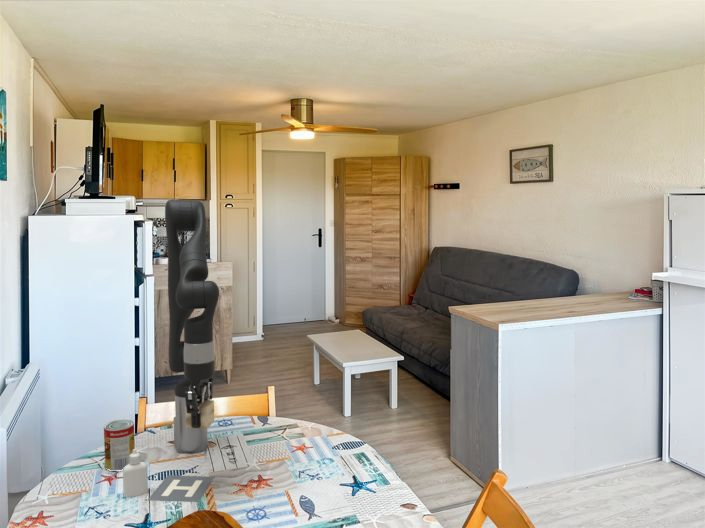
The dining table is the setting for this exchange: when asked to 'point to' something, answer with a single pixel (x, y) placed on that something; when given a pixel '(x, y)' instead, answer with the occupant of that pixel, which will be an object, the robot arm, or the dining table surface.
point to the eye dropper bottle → (135, 476)
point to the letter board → (181, 488)
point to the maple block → (203, 415)
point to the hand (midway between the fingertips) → (200, 422)
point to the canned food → (118, 443)
